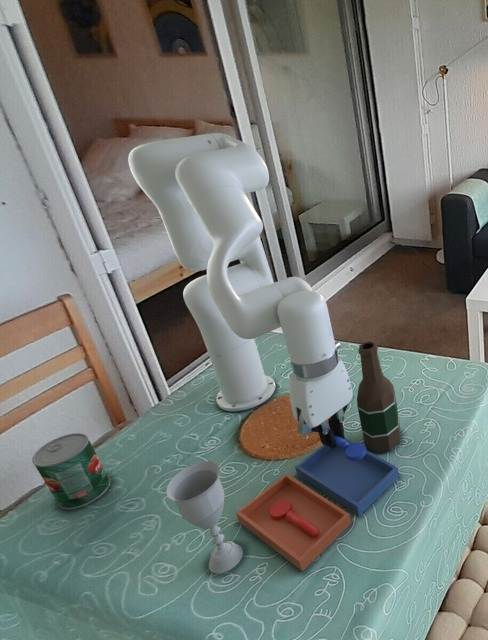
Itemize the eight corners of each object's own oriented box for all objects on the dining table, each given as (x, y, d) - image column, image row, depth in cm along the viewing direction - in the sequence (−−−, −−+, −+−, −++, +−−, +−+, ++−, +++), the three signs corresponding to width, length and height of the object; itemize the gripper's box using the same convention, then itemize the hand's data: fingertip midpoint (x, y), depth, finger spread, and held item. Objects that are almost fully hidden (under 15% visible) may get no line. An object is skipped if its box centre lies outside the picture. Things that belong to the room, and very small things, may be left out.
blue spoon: (312, 439, 95) (310, 433, 94) (327, 428, 97) (326, 422, 97) (355, 464, 89) (354, 457, 88) (370, 451, 92) (369, 444, 91)
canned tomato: (120, 481, 97) (98, 438, 92) (77, 514, 90) (51, 470, 85) (92, 471, 99) (69, 428, 94) (48, 503, 92) (20, 459, 87)
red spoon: (326, 529, 86) (325, 523, 85) (309, 546, 83) (307, 540, 83) (283, 499, 92) (281, 494, 91) (266, 514, 89) (264, 508, 88)
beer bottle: (393, 456, 101) (377, 359, 90) (357, 451, 103) (338, 355, 92) (407, 429, 108) (394, 336, 97) (374, 425, 109) (358, 332, 99)
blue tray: (297, 476, 97) (294, 466, 96) (338, 442, 105) (336, 433, 104) (359, 516, 89) (357, 506, 88) (399, 476, 97) (397, 467, 96)
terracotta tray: (239, 522, 88) (235, 512, 87) (289, 482, 96) (286, 473, 95) (302, 571, 80) (299, 561, 79) (351, 523, 88) (349, 513, 86)
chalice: (214, 540, 85) (182, 462, 77) (255, 536, 86) (227, 459, 77) (193, 582, 78) (156, 502, 70) (238, 578, 79) (206, 499, 71)
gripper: (336, 333, 94) (352, 410, 102) (260, 378, 82) (285, 460, 90) (364, 345, 90) (378, 423, 98) (289, 393, 78) (312, 477, 86)
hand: (333, 440), depth 94 cm, fingers closed on blue spoon, 1 cm apart
